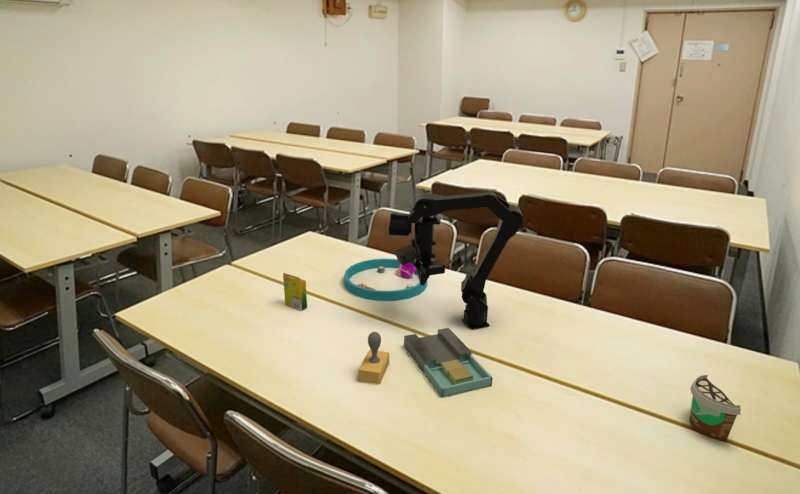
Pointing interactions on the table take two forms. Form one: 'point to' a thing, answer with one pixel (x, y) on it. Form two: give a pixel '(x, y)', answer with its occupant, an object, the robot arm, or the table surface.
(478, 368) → the tray
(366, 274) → the table surface
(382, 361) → the rubber stamp
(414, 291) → the teal ring
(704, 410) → the food container
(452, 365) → the brass chip
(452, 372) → the brass chip
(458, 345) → the slotted plate
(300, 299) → the crayon box
